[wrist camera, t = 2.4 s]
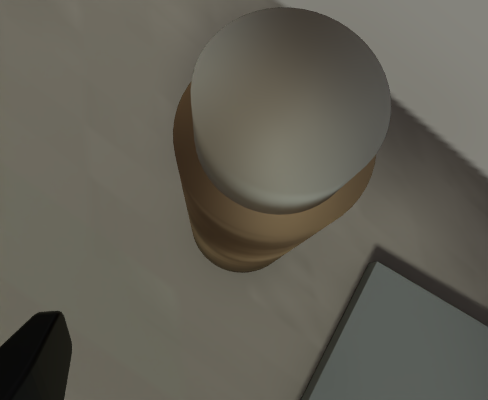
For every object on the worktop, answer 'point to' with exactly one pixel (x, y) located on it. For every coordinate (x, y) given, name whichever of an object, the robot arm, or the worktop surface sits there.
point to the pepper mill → (277, 133)
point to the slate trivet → (402, 346)
